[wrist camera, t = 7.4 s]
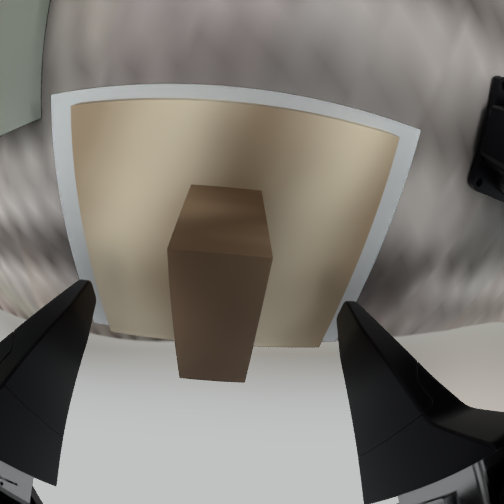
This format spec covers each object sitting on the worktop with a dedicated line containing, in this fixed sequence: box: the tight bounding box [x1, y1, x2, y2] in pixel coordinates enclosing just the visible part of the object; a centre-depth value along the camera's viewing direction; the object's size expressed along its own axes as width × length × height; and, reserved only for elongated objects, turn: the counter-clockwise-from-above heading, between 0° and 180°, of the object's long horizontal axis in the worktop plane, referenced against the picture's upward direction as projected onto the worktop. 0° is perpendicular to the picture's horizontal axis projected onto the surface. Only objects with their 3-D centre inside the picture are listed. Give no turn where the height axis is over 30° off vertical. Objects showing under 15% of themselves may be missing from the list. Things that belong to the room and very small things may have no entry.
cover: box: [71, 98, 400, 382], centre depth 10 cm, size 12×12×5 cm
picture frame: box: [51, 84, 421, 341], centre depth 12 cm, size 15×13×1 cm
